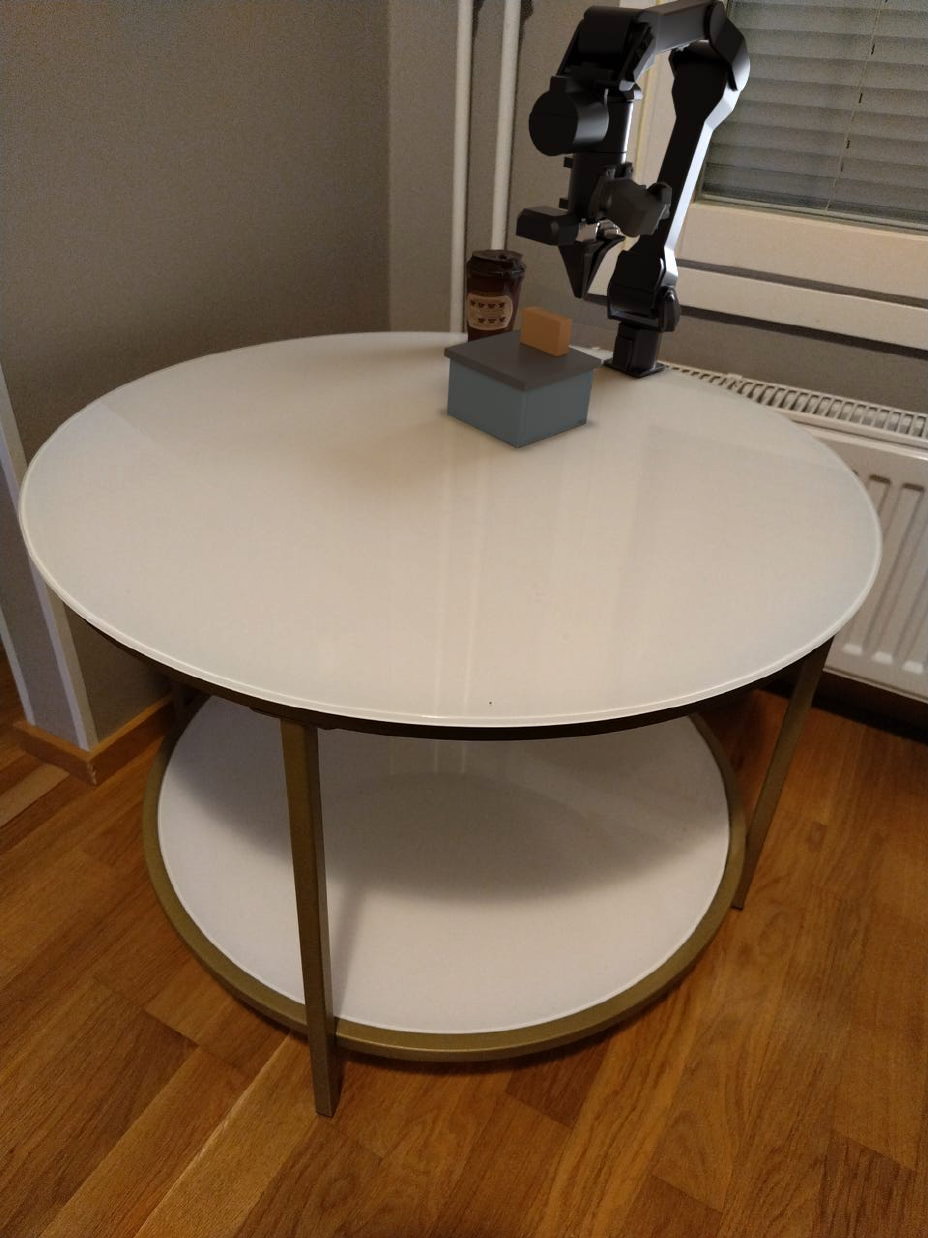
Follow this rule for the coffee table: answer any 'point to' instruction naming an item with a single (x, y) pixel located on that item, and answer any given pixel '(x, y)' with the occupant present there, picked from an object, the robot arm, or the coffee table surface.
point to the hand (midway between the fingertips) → (579, 297)
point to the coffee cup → (493, 292)
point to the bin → (517, 405)
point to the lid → (527, 352)
